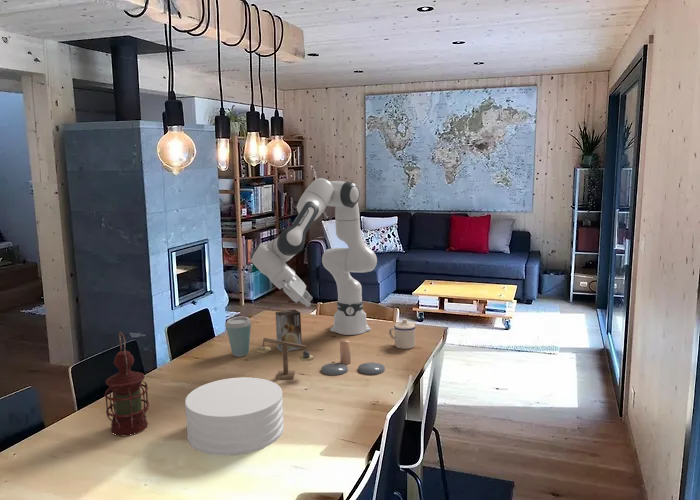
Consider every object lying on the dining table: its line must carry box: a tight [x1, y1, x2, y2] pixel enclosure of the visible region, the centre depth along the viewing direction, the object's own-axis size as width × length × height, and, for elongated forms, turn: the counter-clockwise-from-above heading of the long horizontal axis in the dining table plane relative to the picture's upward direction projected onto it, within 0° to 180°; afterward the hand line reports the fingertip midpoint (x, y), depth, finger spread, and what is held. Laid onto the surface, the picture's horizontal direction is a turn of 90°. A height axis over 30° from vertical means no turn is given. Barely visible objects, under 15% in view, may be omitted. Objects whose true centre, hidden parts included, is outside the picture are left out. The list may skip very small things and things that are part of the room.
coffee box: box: [275, 309, 303, 353], centre depth 241 cm, size 9×6×16 cm
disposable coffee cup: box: [224, 315, 253, 358], centre depth 235 cm, size 11×11×15 cm
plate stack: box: [184, 376, 285, 456], centre depth 169 cm, size 28×28×12 cm
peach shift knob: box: [339, 338, 351, 366], centre depth 224 cm, size 4×4×9 cm
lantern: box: [104, 330, 150, 436], centre depth 170 cm, size 12×12×30 cm
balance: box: [256, 337, 314, 380], centre depth 211 cm, size 6×21×15 cm, turn 90°
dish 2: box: [357, 362, 386, 376], centre depth 217 cm, size 10×10×1 cm
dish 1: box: [321, 362, 349, 376], centre depth 217 cm, size 10×10×1 cm
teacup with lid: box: [388, 318, 416, 350], centre depth 243 cm, size 12×9×12 cm
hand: (310, 302), depth 221 cm, fingers open, 8 cm apart
